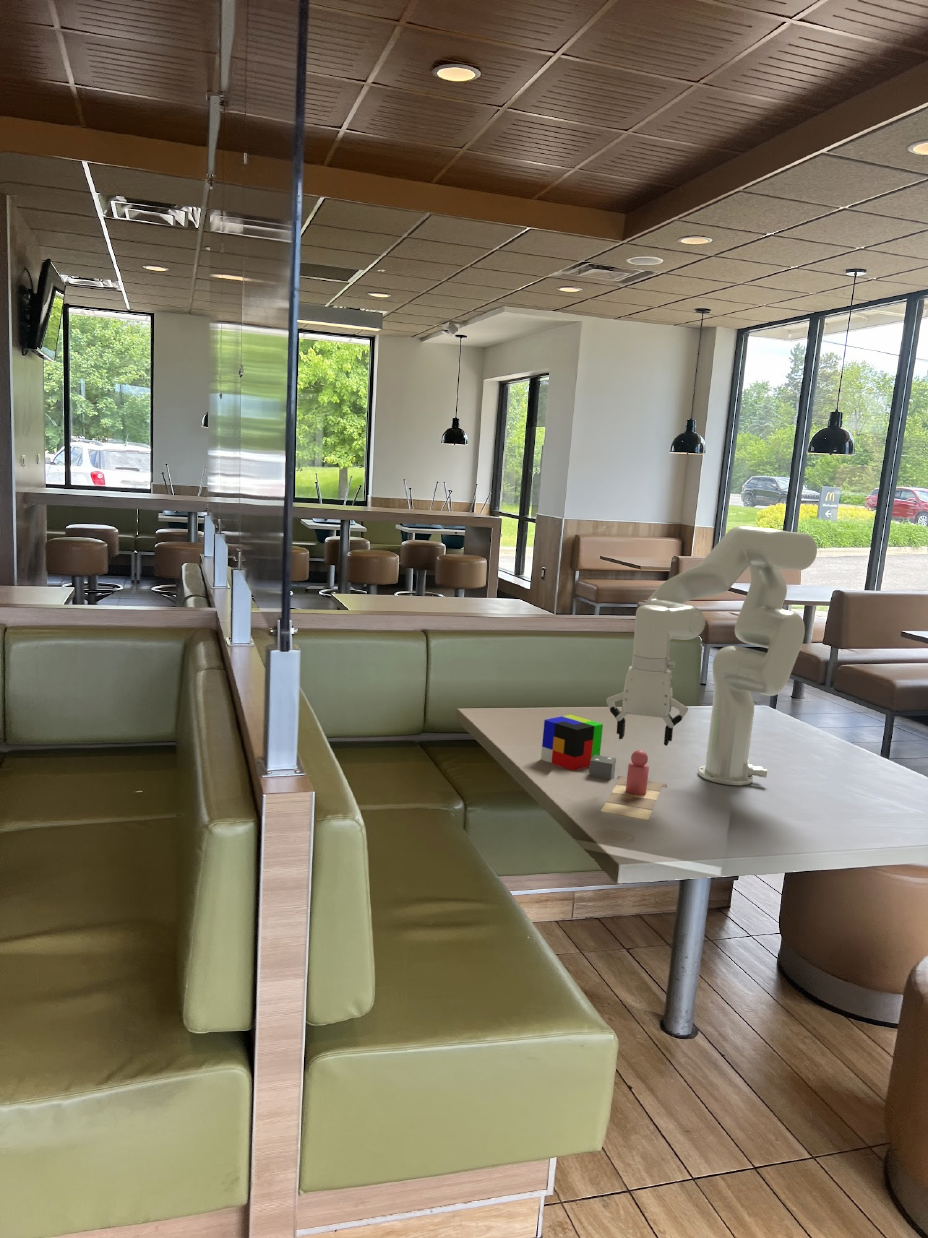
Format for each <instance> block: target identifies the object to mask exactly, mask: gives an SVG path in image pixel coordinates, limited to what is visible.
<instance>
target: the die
mask: <svg viewBox="0 0 928 1238" xmlns="http://www.w3.org/2000/svg"><path fill="white" fill-rule="evenodd" d="M616 763H617V758H616V757H611V756H604V755H601V754H600V755H594V756H593V757H592V759H591V760H590V766H589V770H588V771H589V773H588V777H590V778H591V777H592V778H597V779H603V780H610V781H611V780H613V779H615V772H616Z"/></svg>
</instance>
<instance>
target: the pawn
mask: <svg viewBox="0 0 928 1238" xmlns="http://www.w3.org/2000/svg"><path fill="white" fill-rule="evenodd" d="M648 759H649V756H648V754H647V752H645V751H644V750H641V749H637V750H635V751H633V752H632V754H631V757H630V761H631V762H629V763H628V765H627V773H626V777H627V783H626V792H627V793H629V794H632V795H637V796H642V795H646V790H648V789H647V781H649V771H650V766H649V765H648V764H647V763H648V761H649V760H648Z"/></svg>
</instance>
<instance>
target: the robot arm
mask: <svg viewBox="0 0 928 1238" xmlns="http://www.w3.org/2000/svg"><path fill="white" fill-rule="evenodd" d="M817 553H818V546H817V543H816V541H815V539H814V538H813V537H812V536H811V535H810V534H808V533H805V532H793V531H786V530H780V529H774V528H769V527H768V528H767V527H766V528H765V527H758V526H757V527H756V526H746V525H742V526H740V525H739V526H735V527H733V528H731V529H729V530H728V531H727V532H726V533H725V535H723V536H722V538H721V539H720V540H719V541H718V543H717V544H716V545H715V546H714V547H713V548H712V549H711V551H710V552H709V553H708V554H707V555H706V556H705V557H704V559H703V560H702V561H701V562H700V563H699V564H698V565H696V566H693V567H691V568H688V569H686V570H685V571H683V572H681V573H678V574H676V575H675V576H672V577H670V578H669V579H667V580H666V581H663V583H661V584H660V585H659V586H658V587H657V588H656V589H655V590H654V591H653V593H652V594H651V595H650V596H649V597H648V599H647V600H646V601H645V603H644V605H640V606H639V607H637V609H636V611H635V621H634V622H635V623H634V633H633V634H634V636H633V649H632V658H631V659H632V660H631V666H628V670H627V673H626V677H625V681H624V686H623V687H624V688H623V691H622V692H619V693H616V694H614V695H612V696H609V697H607V698H606V699H605V700H606V704H607V707H608V709H609V711H610V712H609V713H611V714H612V715H613V717H614V718H615V720H616V721H617V722H616V735H618V739H619V740H622V739H624V737H625V733H626V732H625V731H626V718H625V717H626V716H627V715H633V716H642V717H649V718H658V719H662V720H663V721H664V723H665V724H666V726H665V727H664V737H663V738H664V739H663V745H664V746H666V747H667V746H668V745H669V743H670V742H672V740H673V730H674V727H675V726H676V725H677V724H679V723H680V722H682V720H683V718H684V717H685V715H686V714H687V713H688V710H689V708H688V707H687V706H686V705H684V704H683V703H681V702H680V701H678V700H677V699H675V698H673V675H672V674H673V673H672V670H670V668H672V667H673V668H675V667H676V660H672V659H671V658H670V648H671V647H670V644H671V640H685V641H687V640H688V641H689V640H692V639H695V638H697V637H699V636H700V635H701V634H702V632H703V631H704V629H705V625H706V617H705V615H704V613H703V612H702V611H701V610H700V609H699V608H698V607H696V606H694V605H690V604H685V603H686V602H689V601H692V600H695V599H699V598H701V599H702V598H706V597H707V598H708V597H712V596H716V595H720V594H724V593H725V592H727V591H729V590H730V589H731V588H732V587H733V585H734V584H735V582H737V580H738V579H739V578H740V577H741V576H742V575H743V574H744V572H745V571H746V570H747V568H749V572H750V584H749V589H748V591H747V594H746V596H745V598H744V600H743V604H742V606H741V609H740V611H739V614H738V615H737V619H736V620H735V621H736V622H735V625H734V635H735V637H736V638H737V639H738V640H739V641H740V642H742V643H744V644H747V645H752V646H756V647H760V648H766V649H767V652H765V651H762V650H761V651H760V650H756V649H752V648H748V647H744V646H743V647H742V646H738V645H737V646H736V645H728V646H724V647H722V648H720V649H719V650H718V651H717V652H716V653H715V655H714V658H713V660H712V678H713V697H712V709H711V714H710V724H709V732H708V742H707V751H706V758H705V764H704V765H701V766H699V767H698V769H697V774H698V775H699V777H701V778H703V779H705V780H707V781H708V782H709V781H710V782H713V783H717V784H720V785H727V786H747V785H750V784H752V783H753V780H754V776H757V777H759V778H765V779H766V778H767V777H768V776H767V775H768V774H767V773H768V769H765V768H763V767H762V766H754V765H752V764H750V759H749V756H750V755H749V754H750V748H751V741H752V740H751V739H752V732H753V726H754V725H753V724H754V715H755V704H754V699H753V696H752V693H755V694H758V695H763V696H769V697H773V696H776V695H779V694H780V693H781V692H782V691H783V690H784V689H785V687H786V686H787V683H788V681H789V679H790V677H791V674H792V672H793V669H794V666H795V664H796V661H797V659H798V656H799V653H800V651H801V648H802V645H803V643H804V638H805V633H806V628H805V622H804V620H803V618H802V616H801V615H800V614H798V613H797V612H795V611H792V610H787V609H783V605H784V603H785V601H786V596H787V595H788V586H787V584H786V579H785V578H784V575H783V573H782V570H794V571H803V570H804V571H805V570H807V569H808V568H809V567H810V566H811V565H812V564H813V563H814V561H815V560H816V557H817ZM621 700H622V703H621V704H622V705H621V706H622V707H621V710H619V708H618V707H617V706H616V703H615V702H618V701H621ZM672 707H673V708H674V709H677V710H678V714H677V715H676V716H674V717H673V716H672V715H671V714H670V713H671V711H672Z"/></svg>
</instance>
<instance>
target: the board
mask: <svg viewBox="0 0 928 1238" xmlns="http://www.w3.org/2000/svg"><path fill="white" fill-rule="evenodd" d="M616 780H617V782H616V784H615V786H614V787H613V789H612V791H611V793H610V795H609V796H608V797H607V800H606V802H605V803H604V804H603V807H602V808H601V810H600V813H607V814H613V815H616V816H617V815H618V816H624V817H629V818H634V819H639V820H645V821H650V820H649V819H650V818H651V815H652V812H653V810H654V808H655V806H656V802H657V800H658V798H659V795H660V792H661V791H662V789H663V788H667V787H668V786H667V783H663V782H657V781H651V780H648V781H647V790H646V795H642V796H637V795H632V794H629V793H627V792H626V783H627V776H624V775H623V776H622V775H618V776H617V777H616Z"/></svg>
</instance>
